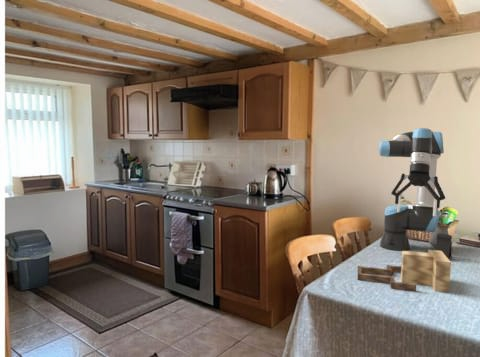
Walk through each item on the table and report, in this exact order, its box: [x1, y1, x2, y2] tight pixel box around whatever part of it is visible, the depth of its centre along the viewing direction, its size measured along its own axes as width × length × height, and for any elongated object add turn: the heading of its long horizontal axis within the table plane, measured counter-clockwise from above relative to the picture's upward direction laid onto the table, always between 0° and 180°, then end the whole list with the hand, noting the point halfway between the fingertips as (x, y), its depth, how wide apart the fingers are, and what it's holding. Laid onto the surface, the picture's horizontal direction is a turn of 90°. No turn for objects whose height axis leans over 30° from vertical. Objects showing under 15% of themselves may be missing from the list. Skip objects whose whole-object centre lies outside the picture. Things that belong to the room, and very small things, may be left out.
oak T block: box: [400, 249, 452, 294], centre depth 149 cm, size 16×16×12 cm
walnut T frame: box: [357, 264, 417, 293], centre depth 154 cm, size 22×22×2 cm
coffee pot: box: [428, 217, 453, 249], centre depth 206 cm, size 21×12×15 cm, turn 151°
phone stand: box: [434, 233, 453, 260], centre depth 183 cm, size 9×6×12 cm, turn 138°
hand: (416, 214), depth 151 cm, fingers open, 13 cm apart
